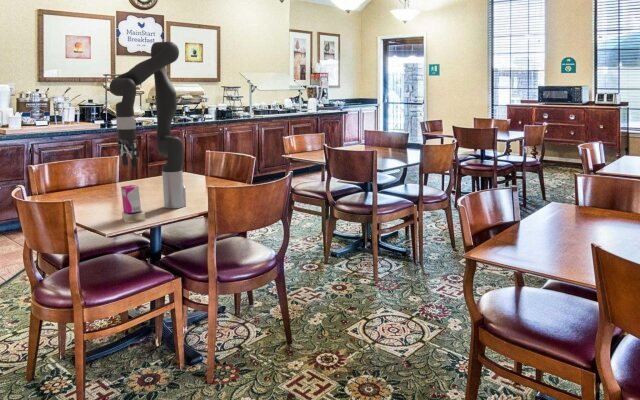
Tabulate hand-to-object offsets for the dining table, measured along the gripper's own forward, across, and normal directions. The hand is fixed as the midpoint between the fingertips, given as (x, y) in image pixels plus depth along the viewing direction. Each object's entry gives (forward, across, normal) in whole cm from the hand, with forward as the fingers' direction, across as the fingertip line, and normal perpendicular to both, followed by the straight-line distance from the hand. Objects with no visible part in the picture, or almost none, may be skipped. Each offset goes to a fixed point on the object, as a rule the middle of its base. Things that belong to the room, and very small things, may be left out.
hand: (129, 166), depth 228 cm
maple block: (+24, 0, 0) cm, 24 cm away
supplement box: (+20, +1, 0) cm, 20 cm away
